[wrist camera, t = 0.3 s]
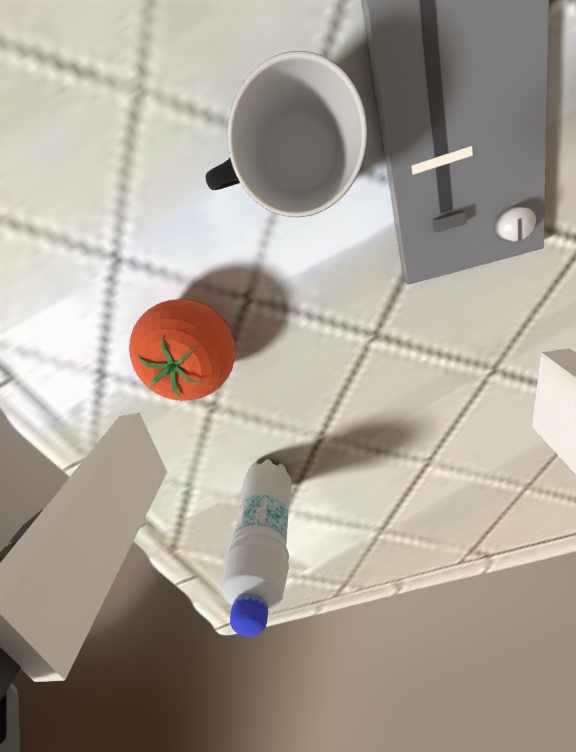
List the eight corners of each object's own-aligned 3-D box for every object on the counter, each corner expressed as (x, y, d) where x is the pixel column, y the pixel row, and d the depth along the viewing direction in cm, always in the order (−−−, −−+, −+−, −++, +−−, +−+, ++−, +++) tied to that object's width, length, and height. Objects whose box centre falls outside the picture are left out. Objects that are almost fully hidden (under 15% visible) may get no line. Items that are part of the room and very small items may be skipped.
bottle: (243, 453, 48) (204, 608, 30) (293, 454, 48) (284, 612, 30) (246, 490, 51) (213, 651, 34) (293, 491, 51) (285, 654, 33)
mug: (336, 71, 29) (348, 21, 20) (361, 189, 33) (381, 191, 24) (202, 128, 32) (159, 105, 23) (240, 233, 35) (217, 249, 26)
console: (332, -191, 23) (336, -254, 20) (535, -296, 21) (577, -385, 18) (403, 279, 37) (412, 289, 33) (531, 245, 34) (555, 251, 31)
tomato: (162, 272, 38) (117, 299, 29) (255, 310, 39) (239, 347, 30) (143, 355, 42) (98, 400, 33) (226, 386, 43) (204, 437, 35)
